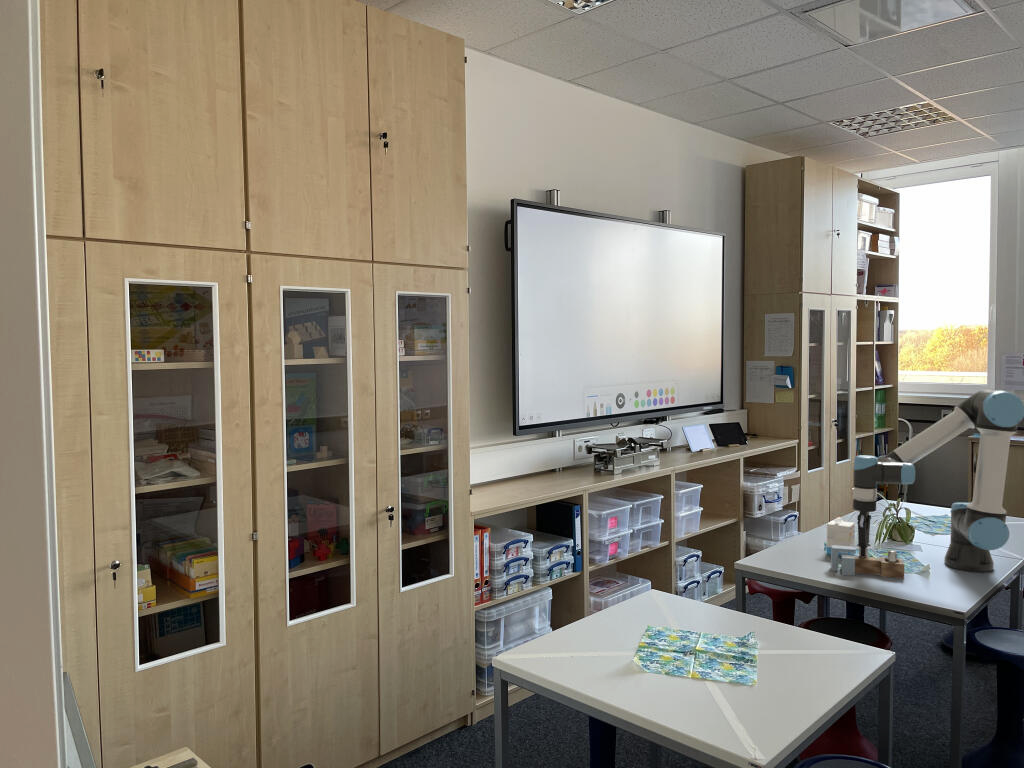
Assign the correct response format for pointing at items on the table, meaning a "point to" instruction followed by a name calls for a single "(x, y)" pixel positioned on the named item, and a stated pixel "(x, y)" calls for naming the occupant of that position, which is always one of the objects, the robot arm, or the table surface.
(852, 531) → the ink box
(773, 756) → the table surface
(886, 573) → the link
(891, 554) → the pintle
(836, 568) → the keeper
